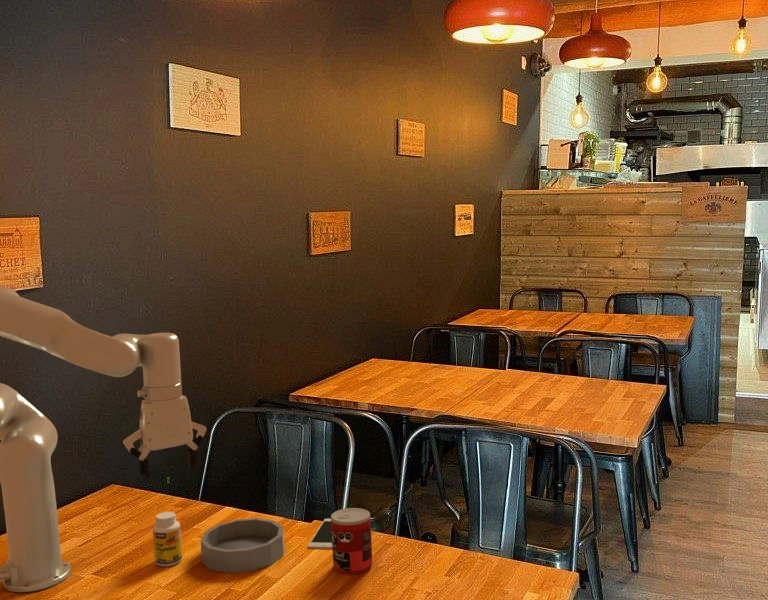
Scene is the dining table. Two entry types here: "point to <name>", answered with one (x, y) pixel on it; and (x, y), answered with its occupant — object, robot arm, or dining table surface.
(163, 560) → the supplement bottle
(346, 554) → the canned food
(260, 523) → the bowl
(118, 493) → the dining table surface
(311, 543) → the smartphone
